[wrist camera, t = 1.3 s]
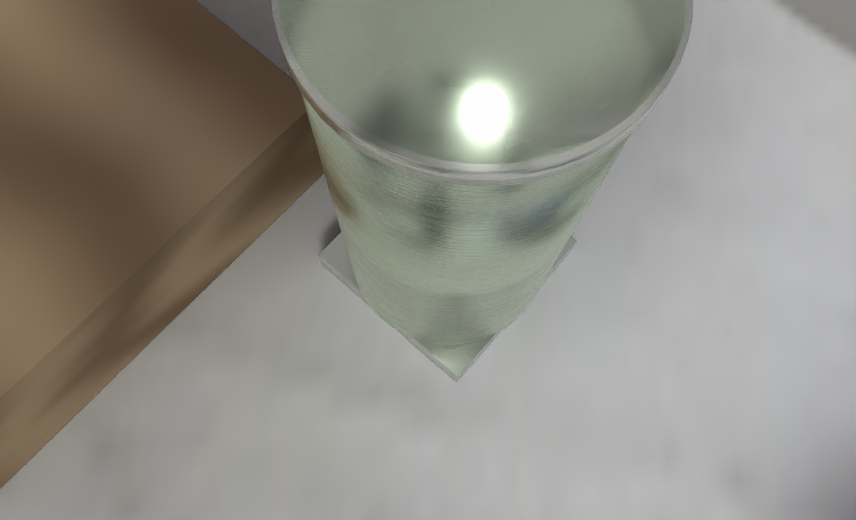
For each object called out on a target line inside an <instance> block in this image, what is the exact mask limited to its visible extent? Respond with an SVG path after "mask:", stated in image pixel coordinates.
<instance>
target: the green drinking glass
mask: <svg viewBox="0 0 856 520" xmlns="http://www.w3.org/2000/svg"><path fill="white" fill-rule="evenodd" d="M271 7H272V14H273V19H274V23H275V27H276V31H277V36H278V39H279V42H280V45H281V49H282V52H283V55H284V58H285V60H286V63H287V65H288V68H289V70H290V73H291V75H292V77H293V79H294V81H295V83H296V84H297V86H298V88H299V89H300V91H301V93H302V97H303V100H304V104H305V107H306V111H307V114H308V118H309V121H310V125H311V128H312V132H313V135H314V139H315V142H316V145H317V149H318V152H319V156H320V159H321V163H322V166H323V170H324V173H325V177H326V180H327V184H328V187H329V191H330V194H331V198H332V201H333V204H334V208H335V211H336V215H337V218H338V222H339V225H340V229H341V233H340V234H339V235H338V236H337V237H336V238H335V239H334V240H333V241H332V242H331V243H330V244H329V245H328V246H327V247H326V248H325V249H324V250H323V251H322V252H321V253H320V254H319V257H320V259H321V262H322V264H323V265H324V266H325V267H326V268H327V269H328V270H329V271H330V272H332V273H333V274H334V275H335V276H336V277H337V278H338V279H340V280H341V281H342V282H343V283H344V284H345V285H346V286H348V287H349V288H350V289H351V290H352V291H353V292H354V293H356V294H357V295H358V296H359V297H360V298H361V299H362V300H364V301H365V302H366V303H367V304H368V305H369V306H370V307H371V308H372V309H373V311H374V312H375V313H376V314H377V315H378V316H379V317H380V318H381V319H383V320H384V321H385V322H386V323H388V324H389V325H390V326H392V327H393V328H395V329H397V330H398V331H399V332H400V333H401V334H402V335H403V336H405V337H406V338H407V339H408V340H409V341H410V342H411V343H412V344H414V345H415V346H416V347H417V348H418V349H419V350H420V351H422V352H423V353H424V354H425V355H426V356H427V357H428V358H430V359H431V360H432V361H433V362H434V363H435V364H436V365H438V366H439V367H440V368H441V369H442V370H443V371H444V372H446V373H447V374H448V375H449V376H450V377H451V378H452V379H453V380H455V381H456V382H457V381H458V380H459V379H460V377H461V376H462V375H463V374H464V373H465V372H466V370H467V369H468V368H469V367H470V366H471V365H472V364H473V362H474V361H475V360H476V359H477V358H478V357H479V355H480V354H481V353H482V352H483V351H484V350H485V349H486V347H487V346H488V345H489V344H490V343H491V342H492V340H493V339H494V338H495V337H496V336H497V335H498V334H499V332H500V331H501V330H502V329H504V328H506V327H507V326H508V325H510V324H511V323H512V322H513V321H515V320H516V319H517V318H518V317H519V316H520V315H521V314H522V313H523V312H524V311H525V310H526V308H527V307H528V306H529V304H530V303H531V302H532V300H533V298H534V297H535V295H536V293H537V292H538V290H539V288H540V287H541V285H542V283H543V282H544V281H545V279H546V278H547V277H548V276H549V275H550V274H551V273H552V271H553V270H554V269H555V268H556V267H557V266H558V264H559V263H560V262H561V261H562V260H563V259H564V258H565V256H566V255H567V254H568V253H569V252H570V250H571V249H572V247H573V246H574V244H575V242H576V240H575V239H574V238H573V237H571V234H572V232H573V230H574V229H575V227H576V225H577V224H578V222H579V220H580V219H581V217H582V215H583V214H584V212H585V210H586V208H587V207H588V205H589V203H590V202H591V200H592V198H593V197H594V195H595V193H596V191H597V190H598V188H599V186H600V185H601V183H602V181H603V180H604V178H605V176H606V174H607V173H608V171H609V169H610V168H611V166H612V164H613V163H614V161H615V159H616V158H617V156H618V154H619V152H620V151H621V149H622V147H623V146H624V144H625V142H626V141H627V139H628V137H629V135H630V134H631V132H632V131H633V130H634V129H635V128H636V127H637V126H638V125H639V124H640V123H641V122H642V121H643V120H644V119H645V117H646V116H647V115H648V113H649V112H650V111H651V109H652V108H653V107H654V106H655V104H656V103H657V102H658V100H659V98H660V97H661V95H662V93H663V92H664V90H665V88H666V87H667V85H668V83H669V82H670V80H671V78H672V76H673V74H674V72H675V71H676V69H677V67H678V65H679V63H680V61H681V59H682V56H683V53H684V50H685V47H686V44H687V42H688V38H689V33H690V27H691V22H692V17H693V0H271Z"/></svg>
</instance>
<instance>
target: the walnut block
mask: <svg viewBox="0 0 856 520" xmlns="http://www.w3.org/2000/svg"><path fill="white" fill-rule="evenodd" d="M323 173H324V170H323V166H322V163H321V159H320V156H319V152H318V149H317V145H316V142H315V139H314V135H313V132H312V128H311V125H310V121H309V118H308V114H307V111H306V107H305V104H304V100H303V97H302V93H301V91H300V89H299V88H298V86H297V84H296V83H295V81H294V80H293V79H291V78H290V77H289V76H288V75H286V74H285V73H284V72H283V71H282V70H280V69H279V68H278V67H277V66H275V65H274V64H273V63H272V62H271V61H269V60H268V59H267V58H266V57H264V56H263V55H262V54H261V53H260V52H258V51H257V50H256V49H255V48H253V47H252V46H251V45H250V44H249V43H247V42H246V41H245V40H244V39H242V38H241V37H240V36H239V35H238V34H236V33H235V32H234V31H233V30H231V29H230V28H229V27H228V26H227V25H225V24H224V23H223V22H222V21H220V20H219V19H218V18H217V17H215V16H214V15H213V14H212V13H211V12H209V11H208V10H207V9H206V8H204V7H203V6H202V5H201V4H200V3H198V2H197V1H196V0H0V488H1V487H2V486H3V485H4V484H5V483H7V482H8V481H9V480H10V479H11V478H12V477H13V476H14V475H15V474H16V473H17V472H18V471H19V470H20V469H21V468H22V467H23V466H24V465H25V464H26V463H27V462H28V461H29V460H30V459H31V458H32V457H33V456H34V455H35V454H36V453H37V452H38V451H39V450H40V449H41V448H42V447H43V446H44V445H45V444H46V443H48V442H49V441H50V440H51V439H52V438H53V437H54V436H55V435H56V434H57V433H58V432H59V431H60V430H61V429H62V428H63V427H64V426H65V425H66V424H67V423H68V422H69V421H70V420H71V419H72V418H73V417H74V416H75V415H76V414H77V413H78V412H79V411H80V410H81V409H82V408H83V407H84V406H85V405H86V404H87V403H89V402H90V401H91V400H92V399H93V398H94V397H95V396H96V395H97V394H98V393H99V392H100V391H101V390H102V389H103V388H104V387H105V386H106V385H107V384H108V383H109V382H110V381H111V380H112V379H113V378H114V377H115V376H116V375H117V374H118V373H119V372H120V371H121V370H122V369H123V368H124V367H125V366H126V365H127V364H128V363H129V362H131V361H132V360H133V359H134V358H135V357H136V356H137V355H138V354H139V353H140V352H141V351H142V350H143V349H144V348H145V347H146V346H147V345H148V344H149V343H150V342H151V341H152V340H153V339H154V338H155V337H156V336H157V335H158V334H159V333H160V332H161V331H162V330H163V329H164V328H165V327H166V326H167V325H168V324H169V323H170V322H172V321H173V320H174V319H175V318H176V317H177V316H178V315H179V314H180V313H181V312H182V311H183V310H184V309H185V308H186V307H187V306H188V305H189V304H190V303H191V302H192V301H193V300H194V299H195V298H196V297H197V296H198V295H199V294H200V293H201V292H202V291H203V290H204V289H205V288H206V287H207V286H208V285H209V284H210V283H211V282H213V281H214V280H215V279H216V278H217V277H218V276H219V275H220V274H221V273H222V272H223V271H224V270H225V269H226V268H227V267H228V266H229V265H230V264H231V263H232V262H233V261H234V260H235V259H236V258H237V257H238V256H239V255H240V254H241V253H242V252H243V251H244V250H245V249H246V248H247V247H248V246H249V245H250V244H251V243H252V242H254V241H255V240H256V239H257V238H258V237H259V236H260V235H261V234H262V233H263V232H264V231H265V230H266V229H267V228H268V227H269V226H270V225H271V224H272V223H273V222H274V221H275V220H276V219H277V218H278V217H279V216H280V215H281V214H282V213H283V212H284V211H285V210H286V209H287V208H288V207H289V206H290V205H291V204H292V203H293V202H294V201H296V200H297V199H298V198H299V197H300V196H301V195H302V194H303V193H304V192H305V191H306V190H307V189H308V188H309V187H310V186H311V185H312V184H313V183H314V182H315V181H316V180H317V179H318V178H319V177H320V176H321V175H322V174H323Z"/></svg>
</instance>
